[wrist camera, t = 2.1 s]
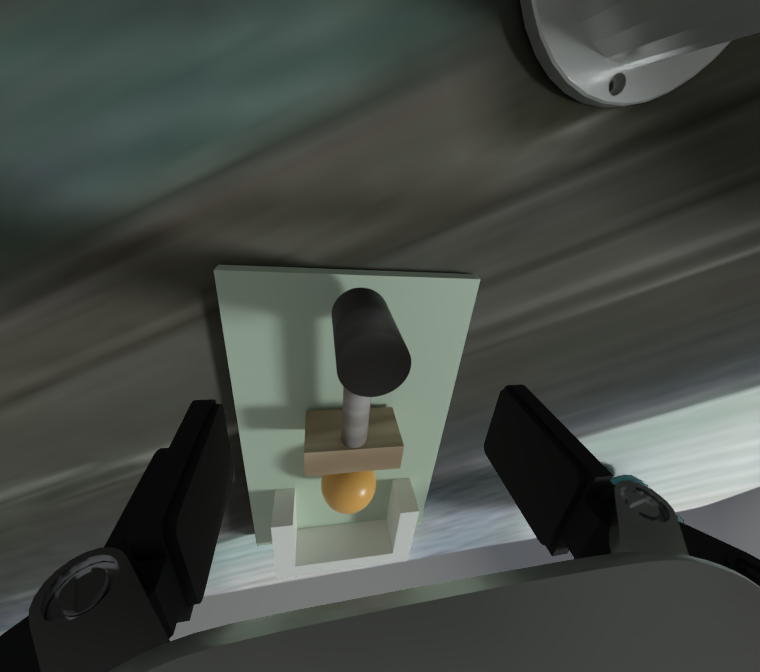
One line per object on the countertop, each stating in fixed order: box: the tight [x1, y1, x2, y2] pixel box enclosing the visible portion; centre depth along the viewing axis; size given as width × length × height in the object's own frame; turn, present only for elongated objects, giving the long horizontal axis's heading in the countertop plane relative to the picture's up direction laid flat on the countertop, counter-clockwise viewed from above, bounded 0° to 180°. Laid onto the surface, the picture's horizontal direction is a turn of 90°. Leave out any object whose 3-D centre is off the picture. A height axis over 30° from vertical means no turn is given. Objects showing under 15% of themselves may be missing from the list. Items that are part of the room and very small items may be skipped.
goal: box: [271, 478, 419, 579], centre depth 27 cm, size 7×11×3 cm, turn 85°
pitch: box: [214, 265, 480, 546], centre depth 24 cm, size 25×15×1 cm, turn 175°
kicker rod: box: [304, 288, 411, 476], centre depth 18 cm, size 12×6×7 cm, turn 175°
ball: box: [321, 471, 376, 514], centre depth 23 cm, size 4×4×4 cm
